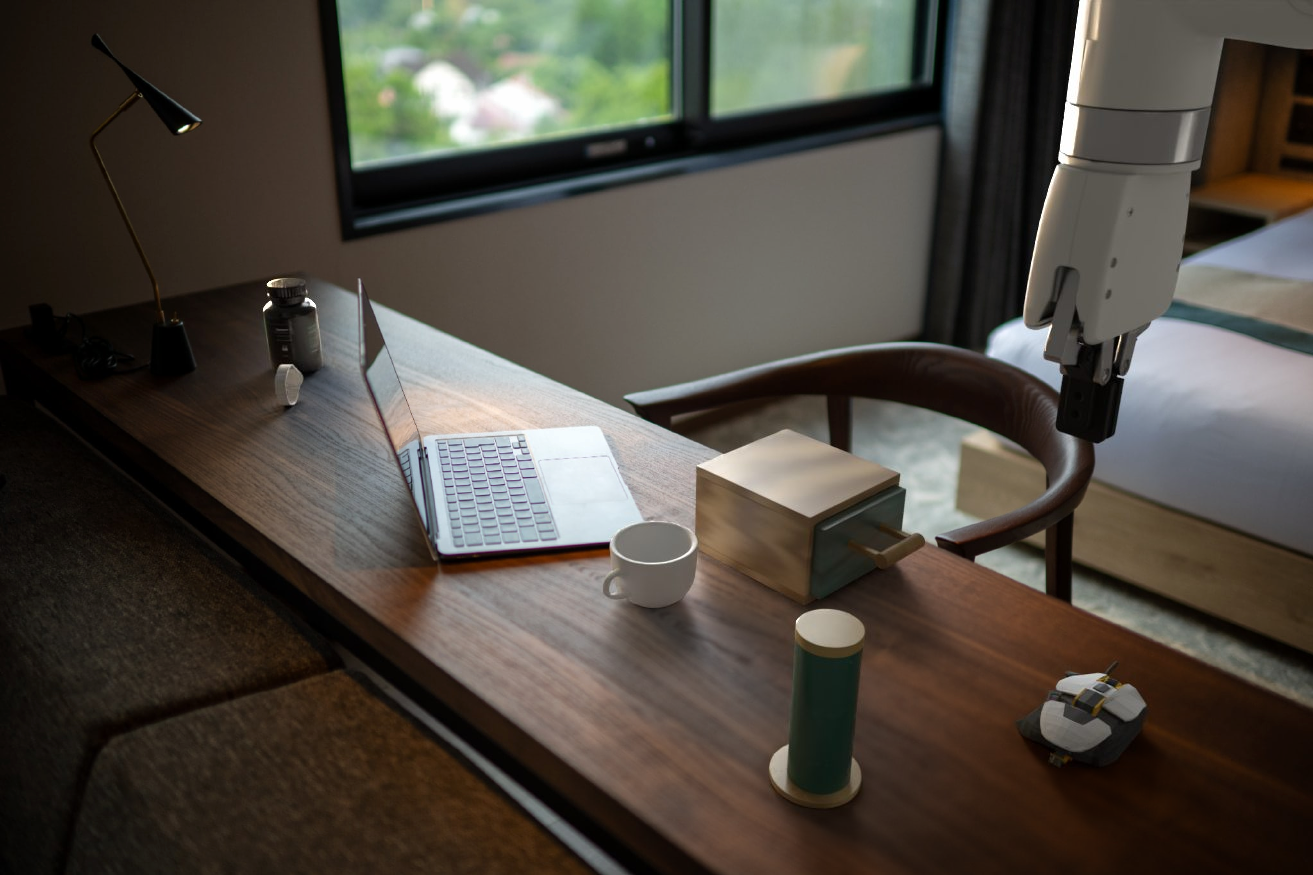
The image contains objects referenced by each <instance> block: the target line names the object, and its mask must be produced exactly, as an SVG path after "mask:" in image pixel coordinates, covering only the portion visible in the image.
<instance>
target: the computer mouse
mask: <svg viewBox="0 0 1313 875" xmlns="http://www.w3.org/2000/svg"><path fill="white" fill-rule="evenodd" d="M1119 665H1120V663H1119V662H1118V661H1117V660H1116V661H1113V663H1112V664H1111V665H1110V666H1109V667H1108V668H1107V669H1106V670H1105V672H1104V673H1102V672H1101V673H1100V672H1096V673H1088V674H1081V673H1078V672H1074V671H1071V670H1068V671H1065V672H1063V674H1064V675H1065V678H1063V679H1061V680H1058V682H1057V683H1056V685H1055V690H1053V689H1049V692H1048V694H1047V696H1046V700H1045V701H1043V703H1041V704H1040V705H1039V706H1038V707H1037V708H1036V709H1034V710H1032V711H1031V712H1029V713H1027V715H1025V716H1023V717H1022V718H1020V719H1018V720H1015V721H1014V722H1015V725H1016V727H1017V728H1018V731H1019V732H1020V734H1021V736H1022V737H1024V738H1027V739H1028V740H1031V741H1035V742H1036V743H1039V744H1041V745H1043V746H1046V747H1048V748H1050V749H1052V750H1054V752H1053V753H1052V752H1049V755H1050V757H1049V759H1048V763H1049V764H1051V765H1053V766H1054V767H1057V768H1059V769H1061V767H1062V765H1063V764H1066V763H1067V762H1069V761H1071V762H1072V761H1073V760H1075V761H1078V762H1081V763H1085V764H1090V765H1092V766H1095V767H1098V768H1100V767H1101V768H1102V767H1104V766H1108V765H1111V764H1113V763H1114V762H1116V761H1117V760H1118V759H1119V758H1120V756H1122V754H1123V753H1124V752H1125V751H1126V749H1127V748H1128V747H1129V746H1130V744H1131V743H1132V742H1133V741H1134V739H1135V738H1136V737H1137V736H1138V734H1139V733H1140V732H1141V731H1142V730H1143V728H1144V723H1145V722H1146V720H1145V717H1146V716H1147V714H1148V713H1149V711H1150V709H1149V708H1148V707H1147V703H1146V702H1145V700H1144V699H1143V697H1142V696H1141V694H1140V693H1139V691H1138V689H1137V688H1136V687H1134V686H1133V685H1131V684H1129V683H1124V684H1122V683H1121V682H1120V681H1119V680H1116V679H1114V678H1111V677H1110V675H1111V673H1112V672H1113V671H1114V670H1115V669H1116V668H1117V667H1118V666H1119Z"/></svg>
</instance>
